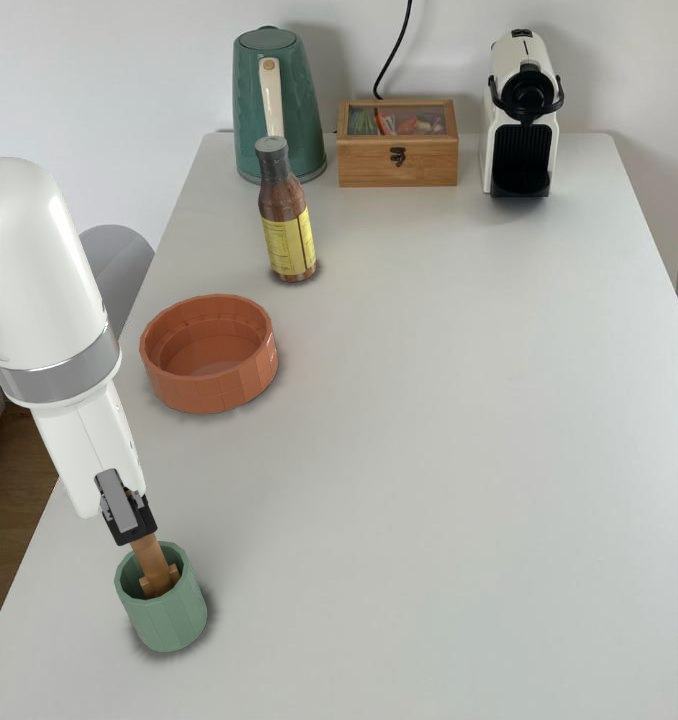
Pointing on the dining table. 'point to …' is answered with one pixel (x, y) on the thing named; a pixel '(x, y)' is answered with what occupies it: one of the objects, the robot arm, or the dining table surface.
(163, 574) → the wooden dowel rod
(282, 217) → the sauce bottle
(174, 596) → the crock
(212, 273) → the dining table surface
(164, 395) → the bowl
